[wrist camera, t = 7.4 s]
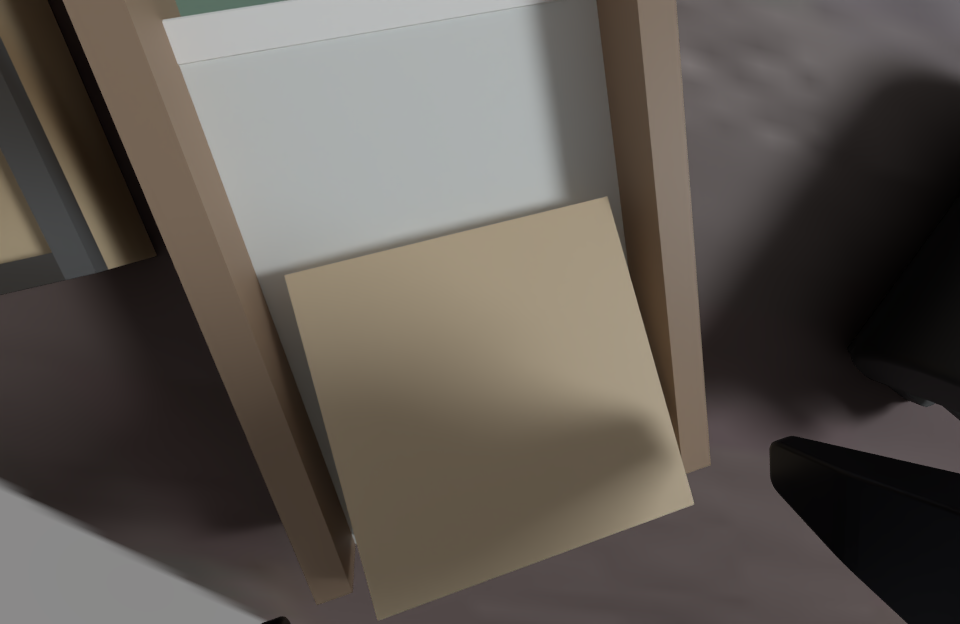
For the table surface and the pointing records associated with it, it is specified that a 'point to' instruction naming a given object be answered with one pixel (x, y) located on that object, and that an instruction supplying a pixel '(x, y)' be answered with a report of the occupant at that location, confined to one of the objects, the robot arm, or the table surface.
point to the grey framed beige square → (55, 163)
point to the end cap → (919, 325)
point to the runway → (428, 264)
